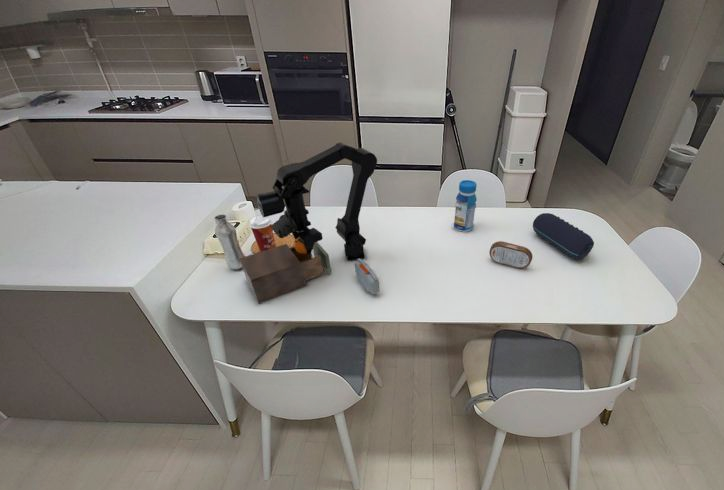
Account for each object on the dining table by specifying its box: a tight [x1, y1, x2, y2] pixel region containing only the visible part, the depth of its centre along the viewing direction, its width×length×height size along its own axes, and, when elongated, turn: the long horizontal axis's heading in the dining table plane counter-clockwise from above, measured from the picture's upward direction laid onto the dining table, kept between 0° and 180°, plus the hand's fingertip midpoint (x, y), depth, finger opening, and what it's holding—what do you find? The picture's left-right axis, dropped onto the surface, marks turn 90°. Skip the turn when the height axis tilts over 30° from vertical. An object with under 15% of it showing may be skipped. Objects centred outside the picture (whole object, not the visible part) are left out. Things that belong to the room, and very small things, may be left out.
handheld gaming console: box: [353, 258, 381, 295], centre depth 115 cm, size 14×3×8 cm, turn 32°
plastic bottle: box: [214, 214, 246, 270], centre depth 120 cm, size 6×7×20 cm
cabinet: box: [239, 243, 307, 304], centre depth 115 cm, size 16×14×10 cm
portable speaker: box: [532, 212, 595, 261], centre depth 135 cm, size 25×10×10 cm, turn 26°
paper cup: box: [248, 215, 277, 252], centre depth 129 cm, size 8×8×14 cm
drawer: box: [289, 241, 332, 281], centre depth 120 cm, size 16×12×8 cm
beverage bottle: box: [453, 179, 478, 233], centre depth 143 cm, size 8×8×20 cm
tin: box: [489, 240, 534, 269], centre depth 125 cm, size 15×3×8 cm, turn 65°
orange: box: [293, 237, 313, 254], centre depth 117 cm, size 6×6×7 cm
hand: (304, 249), depth 118 cm, fingers closed on orange, 6 cm apart
